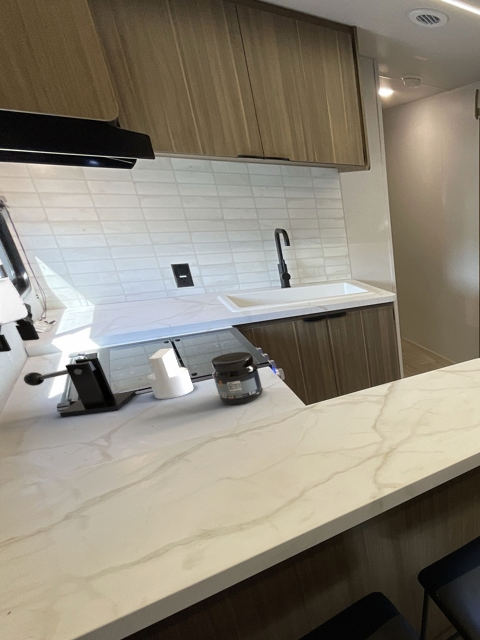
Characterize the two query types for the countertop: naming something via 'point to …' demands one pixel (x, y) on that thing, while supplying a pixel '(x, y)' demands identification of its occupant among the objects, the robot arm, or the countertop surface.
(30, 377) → the tap lever
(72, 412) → the bracket
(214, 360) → the supplement container
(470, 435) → the countertop surface
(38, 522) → the countertop surface
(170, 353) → the base with upright slab
